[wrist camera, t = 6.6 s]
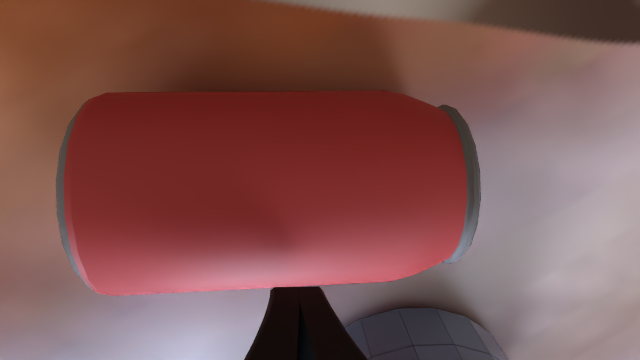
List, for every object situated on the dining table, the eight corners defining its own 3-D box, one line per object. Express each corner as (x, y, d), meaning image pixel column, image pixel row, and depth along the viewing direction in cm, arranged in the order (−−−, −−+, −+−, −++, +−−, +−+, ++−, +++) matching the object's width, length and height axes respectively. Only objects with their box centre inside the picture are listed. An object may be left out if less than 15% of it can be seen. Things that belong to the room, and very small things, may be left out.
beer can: (107, 70, 16) (429, 69, 17) (137, 224, 19) (410, 214, 20) (16, 139, 10) (510, 130, 12) (80, 344, 13) (466, 320, 15)
